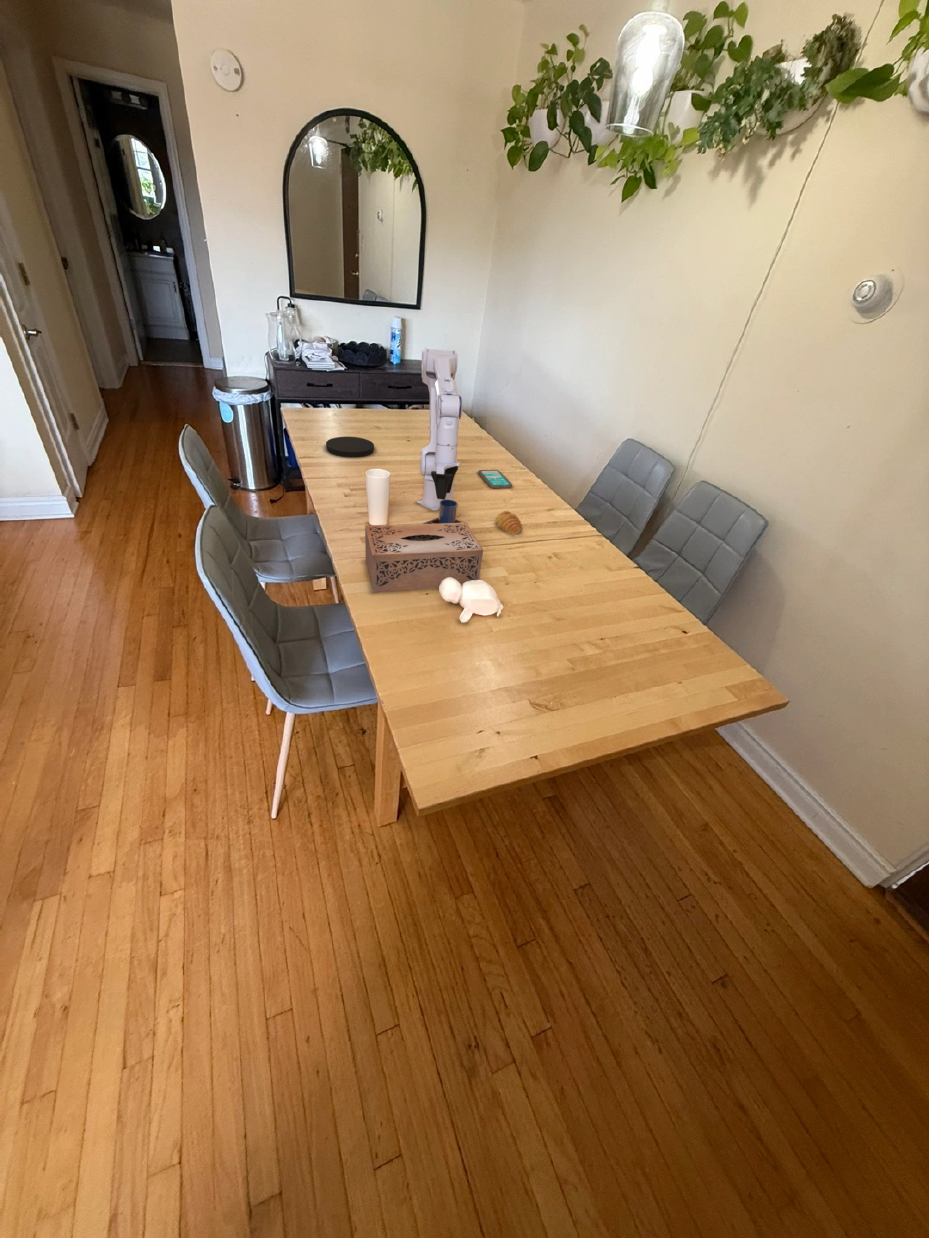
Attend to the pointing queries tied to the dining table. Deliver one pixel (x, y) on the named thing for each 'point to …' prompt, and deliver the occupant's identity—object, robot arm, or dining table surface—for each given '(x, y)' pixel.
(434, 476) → the robot arm
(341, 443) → the wireless charger
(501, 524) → the pastry
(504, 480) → the smartphone
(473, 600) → the white turtle figurine
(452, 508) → the cup
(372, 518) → the drinking glass
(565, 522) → the dining table surface
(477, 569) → the tissue box cover
